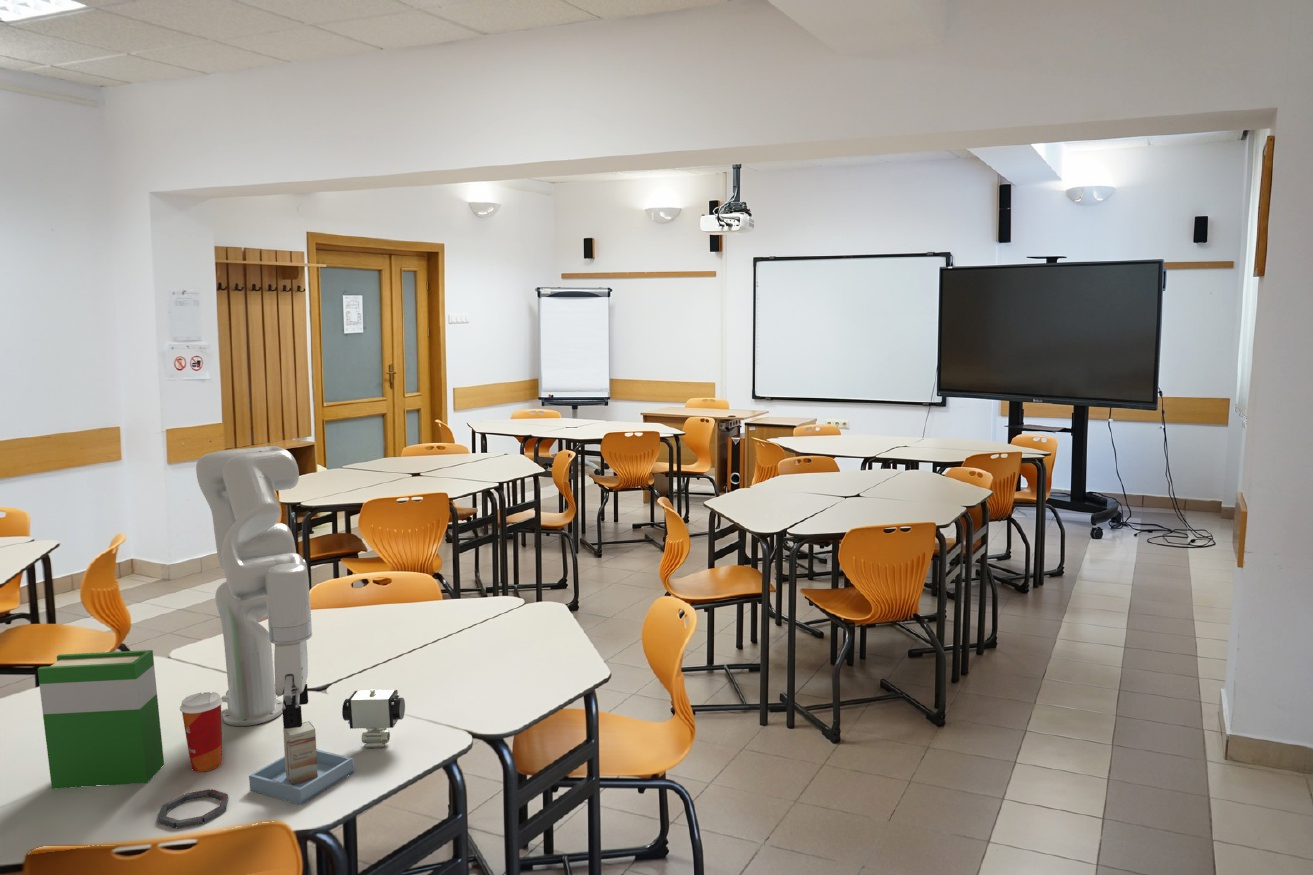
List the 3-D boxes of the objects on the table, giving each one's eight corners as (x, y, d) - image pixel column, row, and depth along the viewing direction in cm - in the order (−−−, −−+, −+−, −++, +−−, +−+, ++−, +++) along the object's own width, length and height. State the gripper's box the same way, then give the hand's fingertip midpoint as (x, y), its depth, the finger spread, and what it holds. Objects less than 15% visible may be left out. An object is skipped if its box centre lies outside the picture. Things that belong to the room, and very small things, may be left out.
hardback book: (51, 788, 180) (37, 668, 177) (72, 770, 188) (59, 654, 184) (147, 783, 182) (134, 664, 178) (164, 764, 189) (152, 650, 186)
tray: (250, 790, 178) (248, 775, 177) (304, 759, 190) (303, 745, 189) (301, 805, 172) (300, 789, 172) (353, 772, 184) (352, 758, 183)
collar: (146, 819, 169) (145, 813, 168) (199, 790, 178) (199, 785, 178) (187, 832, 164) (187, 827, 164) (240, 802, 173) (240, 797, 173)
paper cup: (194, 757, 192) (188, 691, 190) (233, 755, 192) (227, 689, 191) (178, 776, 184) (172, 707, 182) (219, 773, 185) (213, 705, 183)
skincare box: (292, 786, 178) (287, 735, 176) (285, 777, 181) (281, 727, 180) (319, 777, 181) (316, 727, 180) (312, 769, 184) (309, 720, 183)
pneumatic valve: (401, 749, 193) (397, 693, 191) (344, 750, 193) (340, 694, 192) (408, 737, 199) (405, 682, 197) (353, 738, 199) (349, 684, 197)
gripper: (276, 615, 184) (281, 698, 187) (261, 649, 168) (268, 739, 171) (316, 612, 186) (321, 694, 189) (306, 645, 169) (312, 734, 172)
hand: (296, 715), depth 180 cm, fingers open, 9 cm apart
